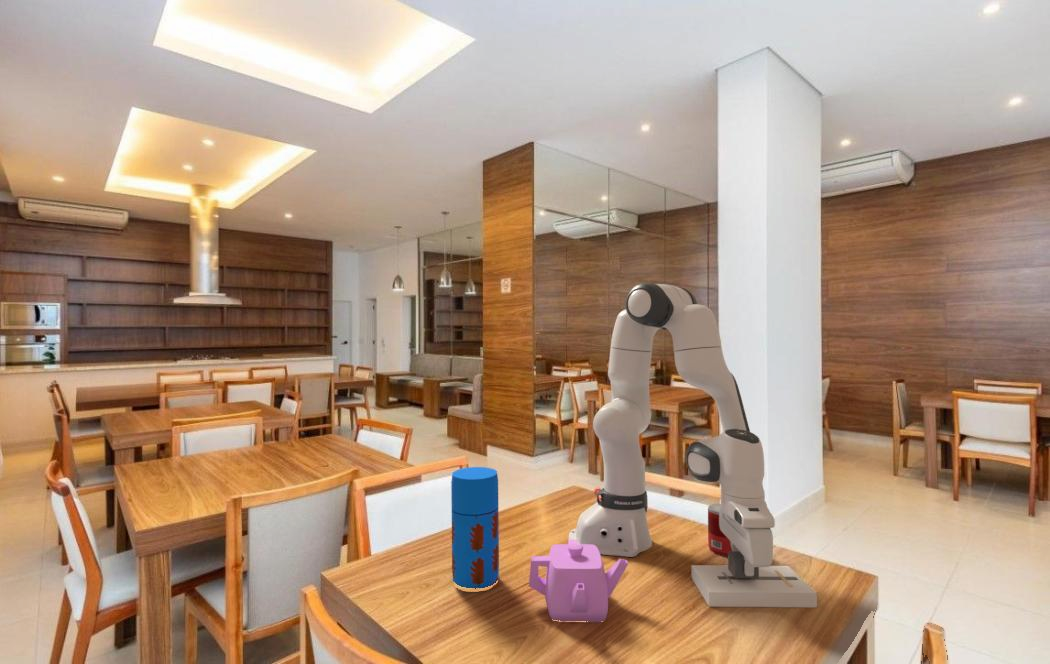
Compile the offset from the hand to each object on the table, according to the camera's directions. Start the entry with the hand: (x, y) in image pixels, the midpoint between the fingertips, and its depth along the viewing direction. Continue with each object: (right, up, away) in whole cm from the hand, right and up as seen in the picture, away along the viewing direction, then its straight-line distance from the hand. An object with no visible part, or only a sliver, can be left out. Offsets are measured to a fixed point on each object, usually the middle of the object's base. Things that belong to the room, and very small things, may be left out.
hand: (743, 568), depth 109 cm
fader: (0, -2, 0) cm, 2 cm away
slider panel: (+2, -5, 0) cm, 5 cm away
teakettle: (-37, -6, -5) cm, 37 cm away
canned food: (+4, -5, +21) cm, 22 cm away
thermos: (-59, -6, +6) cm, 60 cm away
